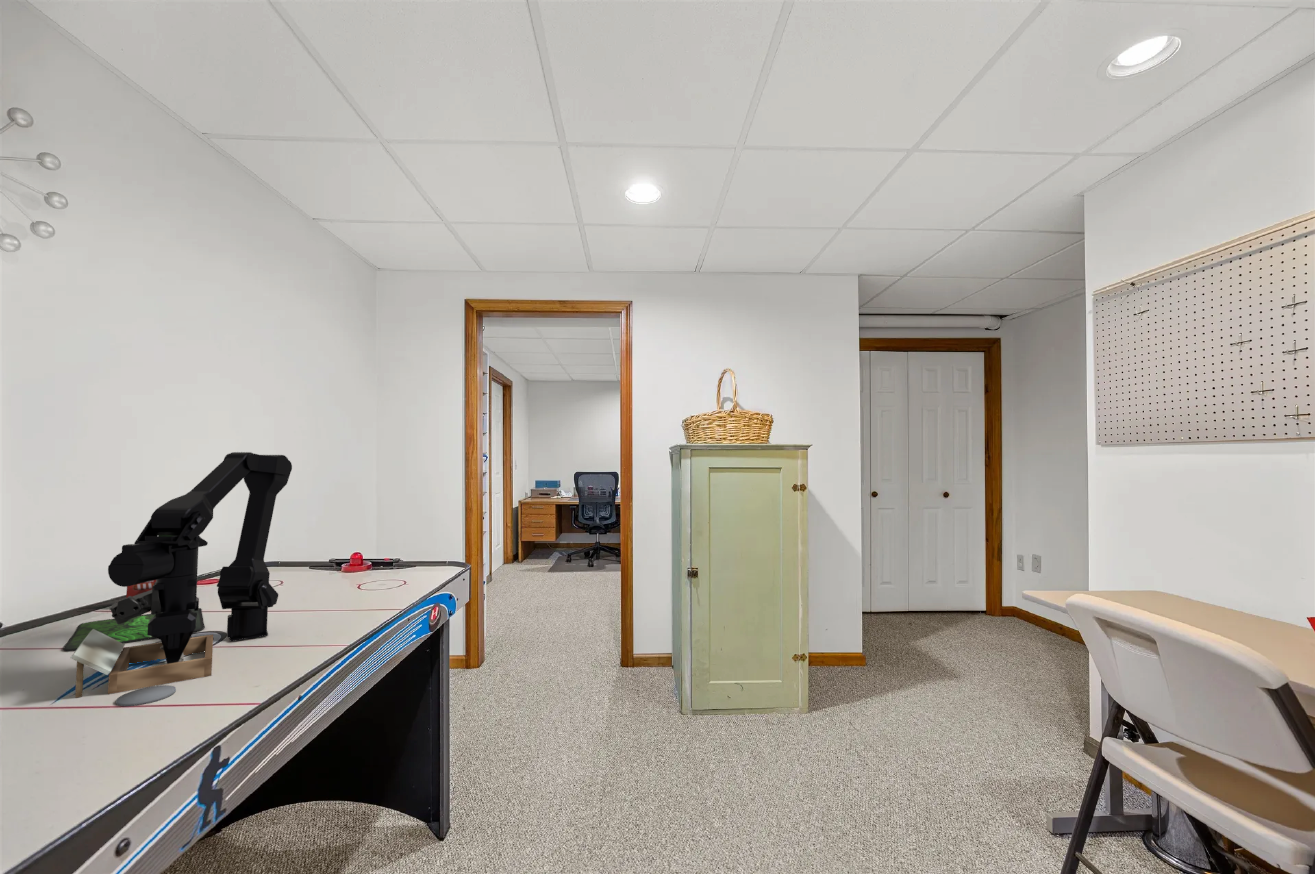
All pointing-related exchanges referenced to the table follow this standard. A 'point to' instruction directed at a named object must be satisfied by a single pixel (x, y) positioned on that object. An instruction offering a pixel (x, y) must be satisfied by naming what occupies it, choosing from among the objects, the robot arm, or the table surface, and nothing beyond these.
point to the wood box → (107, 651)
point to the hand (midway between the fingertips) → (173, 661)
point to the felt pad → (146, 695)
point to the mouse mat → (121, 629)
